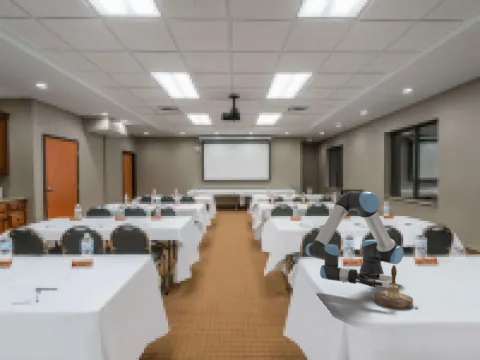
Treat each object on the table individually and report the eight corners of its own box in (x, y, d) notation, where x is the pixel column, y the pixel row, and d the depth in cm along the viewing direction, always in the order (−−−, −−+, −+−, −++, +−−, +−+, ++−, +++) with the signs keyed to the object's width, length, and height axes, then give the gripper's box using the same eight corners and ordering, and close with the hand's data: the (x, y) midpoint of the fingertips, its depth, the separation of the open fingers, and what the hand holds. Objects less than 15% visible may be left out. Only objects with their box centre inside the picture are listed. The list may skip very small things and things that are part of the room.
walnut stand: (390, 294, 193) (390, 289, 193) (420, 305, 177) (420, 299, 177) (367, 299, 184) (367, 294, 184) (397, 311, 168) (397, 305, 168)
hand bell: (381, 294, 184) (382, 263, 184) (397, 293, 185) (397, 263, 185) (389, 299, 176) (390, 267, 176) (405, 299, 176) (406, 267, 177)
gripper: (353, 277, 202) (393, 282, 192) (343, 288, 180) (387, 295, 170) (353, 264, 202) (393, 269, 192) (343, 273, 180) (388, 280, 170)
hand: (391, 281), depth 181 cm, fingers open, 13 cm apart
